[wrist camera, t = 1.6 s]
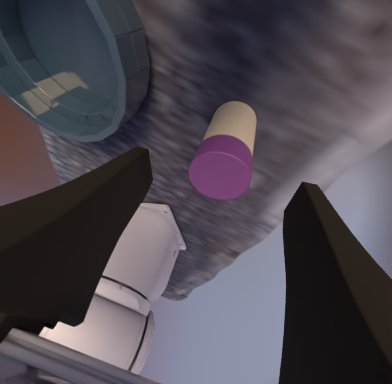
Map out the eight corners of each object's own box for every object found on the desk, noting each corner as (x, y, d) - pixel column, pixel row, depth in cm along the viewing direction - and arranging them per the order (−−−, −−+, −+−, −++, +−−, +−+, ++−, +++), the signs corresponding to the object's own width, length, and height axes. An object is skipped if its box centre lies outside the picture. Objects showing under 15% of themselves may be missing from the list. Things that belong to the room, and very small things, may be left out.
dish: (172, 114, 14) (153, 138, 12) (71, 123, 18) (41, 144, 15) (101, -135, 8) (27, -188, 5) (-40, -45, 11) (-123, -53, 9)
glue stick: (257, 141, 14) (251, 202, 10) (215, 143, 15) (194, 198, 11) (257, 96, 12) (250, 151, 8) (209, 102, 13) (181, 152, 9)
